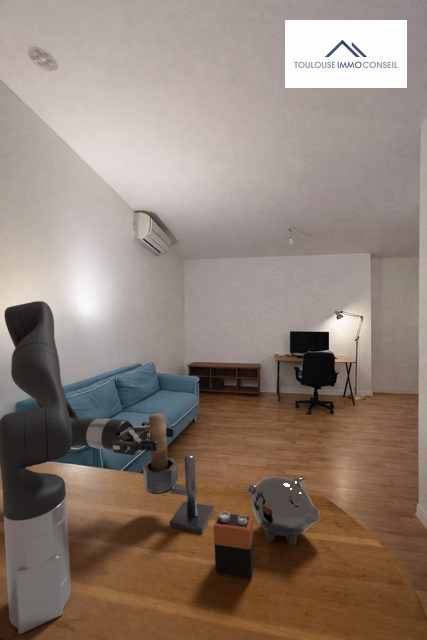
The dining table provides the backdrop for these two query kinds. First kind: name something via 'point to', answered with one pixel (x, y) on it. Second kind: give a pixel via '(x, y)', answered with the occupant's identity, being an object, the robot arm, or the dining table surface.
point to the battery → (234, 545)
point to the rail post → (158, 434)
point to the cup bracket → (166, 480)
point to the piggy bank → (283, 507)
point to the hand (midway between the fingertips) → (165, 439)
